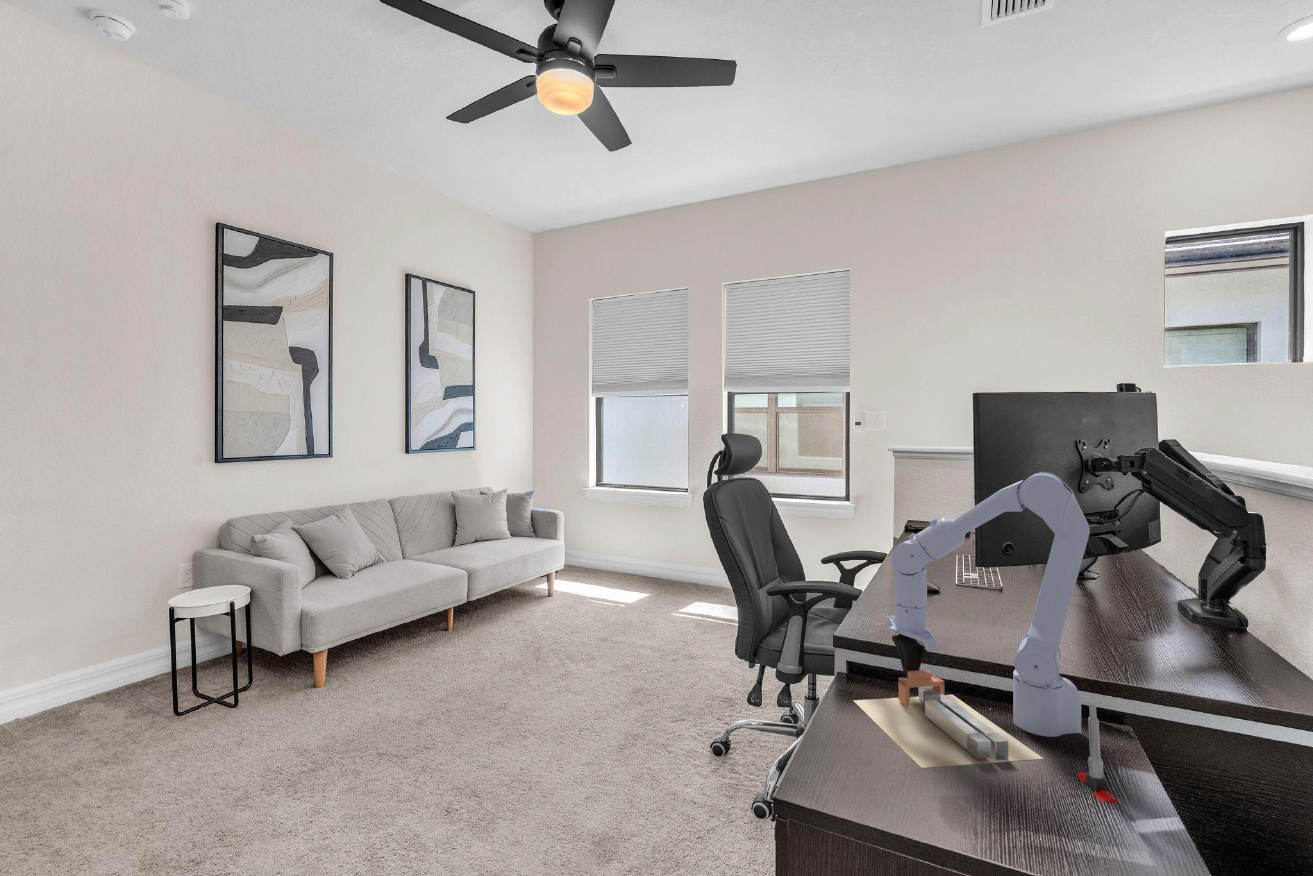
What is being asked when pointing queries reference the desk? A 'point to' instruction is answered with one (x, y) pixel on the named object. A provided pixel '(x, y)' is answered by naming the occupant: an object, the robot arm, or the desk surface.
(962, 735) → the bar
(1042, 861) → the desk surface
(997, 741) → the tong base
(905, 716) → the board
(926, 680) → the collar
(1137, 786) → the desk surface
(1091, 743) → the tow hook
